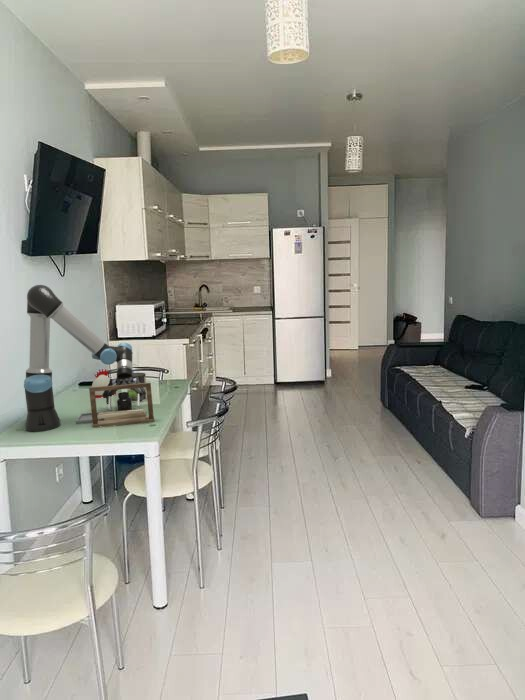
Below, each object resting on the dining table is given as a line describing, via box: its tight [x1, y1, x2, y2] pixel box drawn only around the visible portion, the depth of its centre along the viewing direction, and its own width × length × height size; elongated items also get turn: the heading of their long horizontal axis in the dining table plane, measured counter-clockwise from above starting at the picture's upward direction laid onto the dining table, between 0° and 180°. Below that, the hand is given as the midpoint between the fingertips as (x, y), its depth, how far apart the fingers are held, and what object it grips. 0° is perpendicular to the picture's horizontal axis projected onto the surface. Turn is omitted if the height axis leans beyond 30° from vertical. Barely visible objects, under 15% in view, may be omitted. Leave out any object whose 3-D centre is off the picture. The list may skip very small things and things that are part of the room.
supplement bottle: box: [116, 391, 133, 411], centre depth 257 cm, size 7×7×12 cm
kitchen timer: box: [91, 368, 117, 399], centre depth 310 cm, size 14×14×15 cm
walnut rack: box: [88, 382, 155, 428], centre depth 248 cm, size 6×27×18 cm, turn 99°
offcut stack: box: [97, 408, 147, 424], centre depth 248 cm, size 5×21×4 cm, turn 98°
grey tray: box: [75, 410, 110, 425], centre depth 259 cm, size 13×13×2 cm
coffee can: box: [126, 372, 147, 403], centre depth 293 cm, size 10×10×14 cm
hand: (124, 408), depth 255 cm, fingers open, 13 cm apart
